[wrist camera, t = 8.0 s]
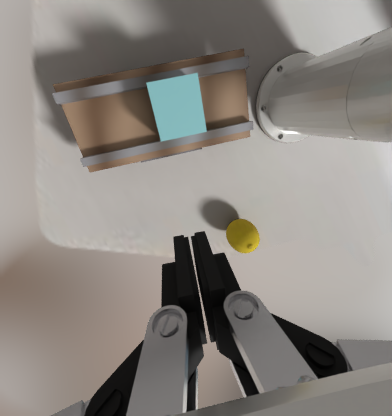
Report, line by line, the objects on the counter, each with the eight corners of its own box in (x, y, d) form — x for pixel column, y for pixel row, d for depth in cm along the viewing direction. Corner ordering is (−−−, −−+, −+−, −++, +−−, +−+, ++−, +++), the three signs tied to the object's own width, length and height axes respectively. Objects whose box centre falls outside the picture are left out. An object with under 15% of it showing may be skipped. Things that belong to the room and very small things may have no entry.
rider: (190, 81, 24) (197, 72, 19) (198, 129, 26) (206, 131, 22) (148, 90, 24) (146, 82, 19) (160, 138, 26) (160, 141, 21)
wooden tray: (227, 53, 29) (247, 33, 22) (236, 140, 34) (254, 145, 27) (70, 83, 27) (42, 71, 21) (104, 169, 32) (90, 182, 26)
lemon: (222, 212, 39) (237, 233, 31) (249, 212, 40) (270, 232, 32) (219, 237, 41) (232, 262, 34) (245, 236, 42) (263, 260, 35)
